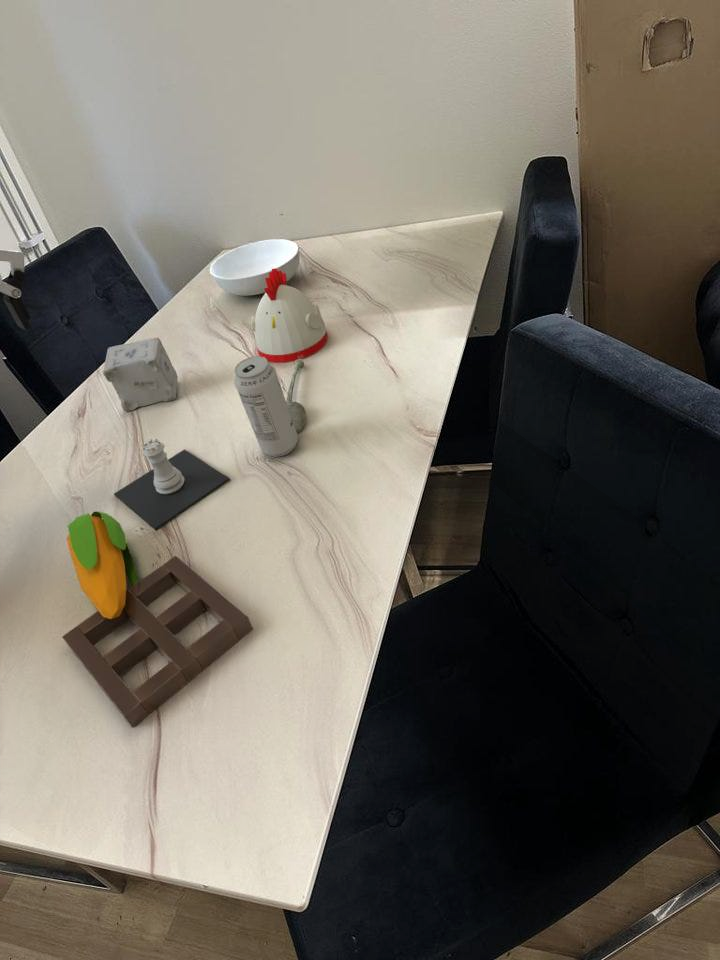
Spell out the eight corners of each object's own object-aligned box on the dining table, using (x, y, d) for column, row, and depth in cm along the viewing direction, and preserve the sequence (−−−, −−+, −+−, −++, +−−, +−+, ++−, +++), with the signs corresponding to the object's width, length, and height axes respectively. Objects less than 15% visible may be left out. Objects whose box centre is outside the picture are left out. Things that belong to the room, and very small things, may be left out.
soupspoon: (265, 443, 106) (306, 440, 105) (260, 426, 103) (302, 423, 103) (283, 368, 122) (318, 364, 121) (279, 352, 120) (315, 348, 119)
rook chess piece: (156, 499, 98) (135, 457, 93) (156, 481, 101) (136, 439, 96) (186, 490, 98) (166, 448, 93) (185, 473, 101) (166, 431, 96)
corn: (101, 486, 89) (132, 575, 75) (127, 525, 94) (161, 616, 79) (48, 513, 88) (69, 609, 73) (78, 551, 93) (103, 649, 78)
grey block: (123, 416, 120) (98, 366, 113) (131, 392, 126) (108, 344, 120) (175, 405, 119) (153, 354, 113) (181, 381, 126) (160, 332, 119)
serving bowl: (202, 295, 157) (192, 267, 153) (271, 261, 166) (264, 234, 162) (251, 314, 144) (242, 284, 139) (323, 275, 153) (317, 246, 148)
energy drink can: (307, 441, 102) (280, 361, 92) (278, 464, 100) (247, 384, 89) (283, 428, 106) (254, 349, 95) (254, 449, 103) (222, 371, 93)
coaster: (156, 530, 93) (155, 528, 93) (114, 495, 101) (113, 493, 101) (230, 480, 99) (229, 477, 98) (185, 451, 107) (184, 449, 107)
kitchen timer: (247, 363, 126) (222, 289, 117) (273, 328, 136) (252, 257, 127) (315, 361, 122) (295, 284, 113) (336, 325, 132) (319, 251, 122)
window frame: (132, 728, 69) (123, 716, 67) (70, 647, 79) (61, 636, 78) (253, 628, 76) (247, 616, 75) (181, 566, 86) (175, 555, 85)
